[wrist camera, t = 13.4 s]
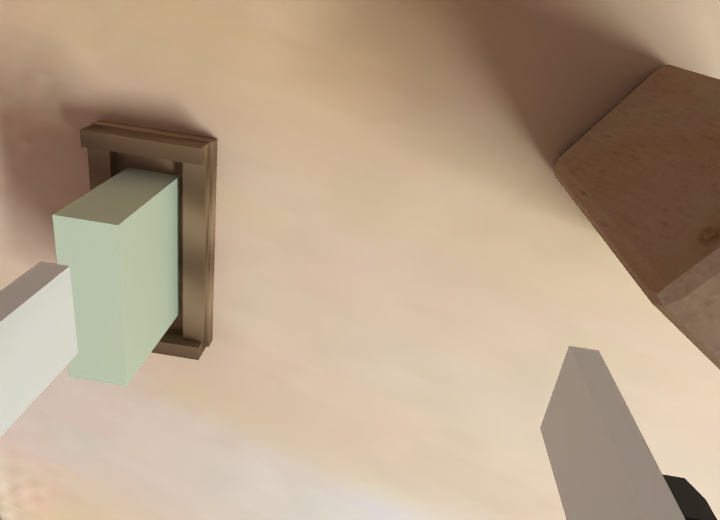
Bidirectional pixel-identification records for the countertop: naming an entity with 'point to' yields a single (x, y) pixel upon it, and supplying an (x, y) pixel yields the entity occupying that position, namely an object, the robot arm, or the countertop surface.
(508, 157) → the countertop surface
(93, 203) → the rectangular block
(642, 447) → the robot arm
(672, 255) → the wooden block
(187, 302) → the track
